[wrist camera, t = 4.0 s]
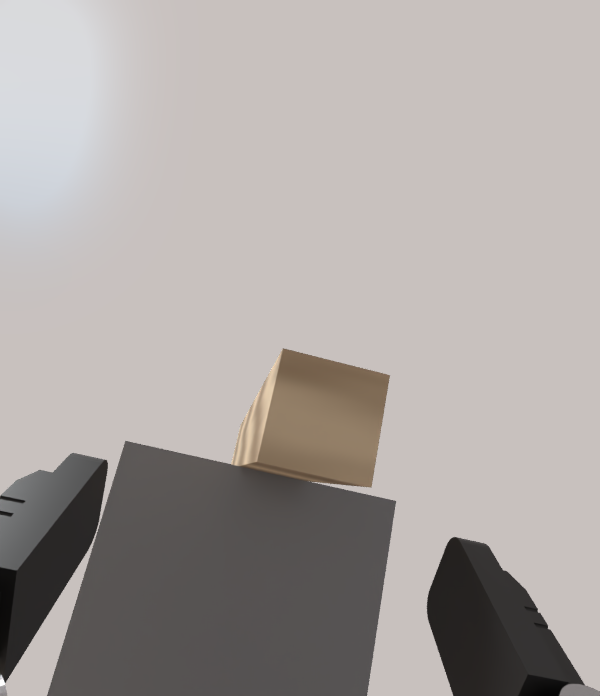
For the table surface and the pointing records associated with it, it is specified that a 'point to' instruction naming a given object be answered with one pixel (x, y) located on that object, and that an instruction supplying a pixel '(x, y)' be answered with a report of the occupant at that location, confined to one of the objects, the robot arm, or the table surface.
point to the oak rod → (314, 421)
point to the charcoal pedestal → (226, 584)
